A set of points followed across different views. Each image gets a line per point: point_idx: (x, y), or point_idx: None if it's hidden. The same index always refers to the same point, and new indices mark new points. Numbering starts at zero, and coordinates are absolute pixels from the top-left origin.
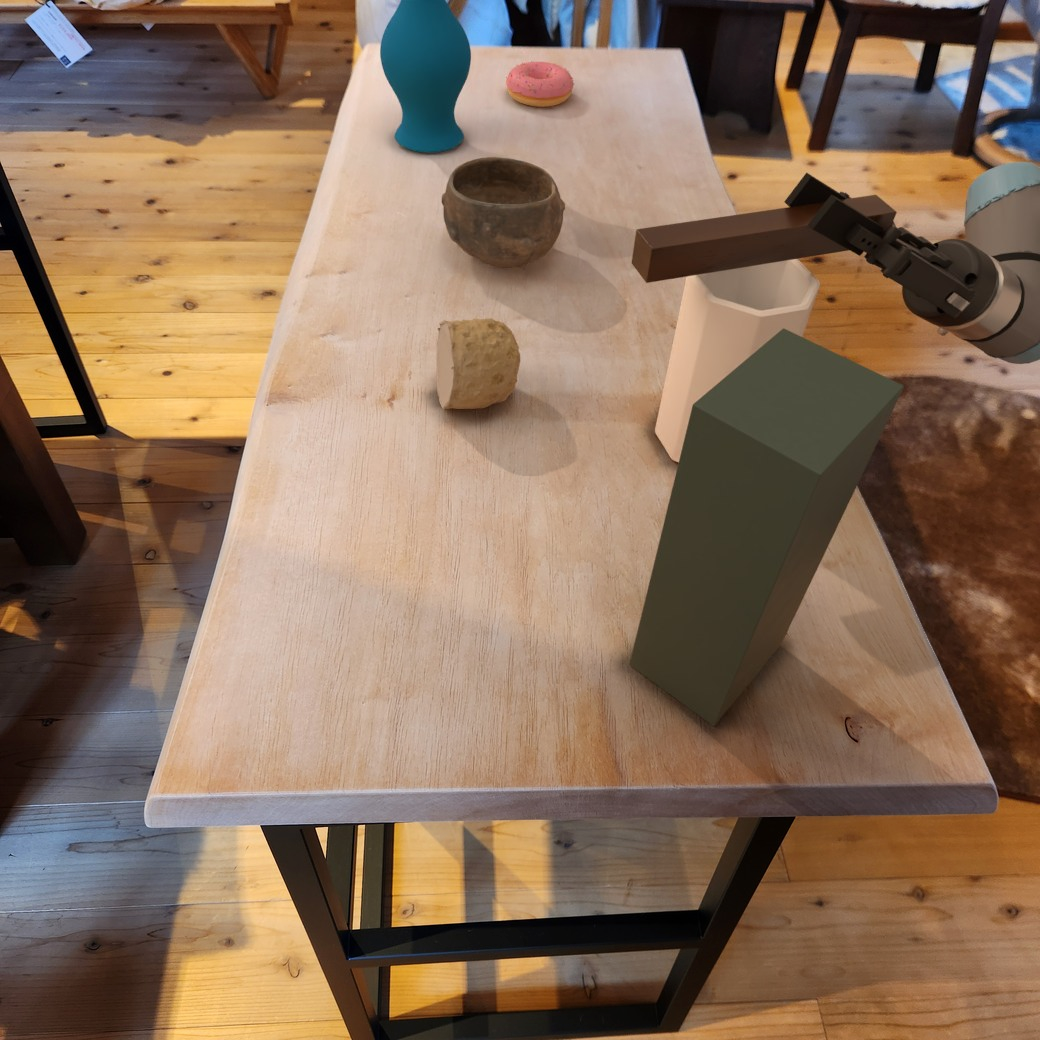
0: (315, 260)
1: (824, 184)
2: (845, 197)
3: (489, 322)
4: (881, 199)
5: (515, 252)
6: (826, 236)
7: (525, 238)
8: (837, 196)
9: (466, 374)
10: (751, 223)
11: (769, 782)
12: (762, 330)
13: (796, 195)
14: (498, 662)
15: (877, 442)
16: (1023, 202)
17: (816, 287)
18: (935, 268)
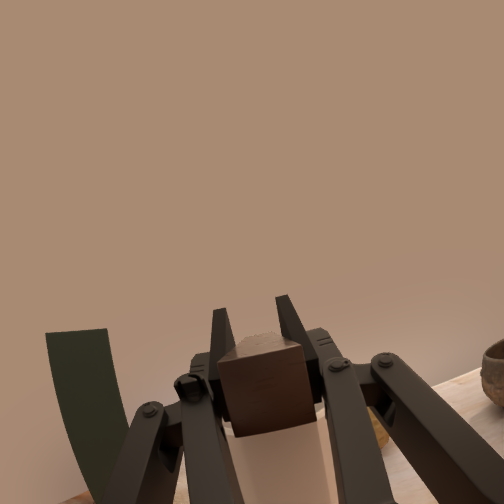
0: (463, 376)
1: (286, 311)
2: (301, 340)
3: (367, 407)
4: (277, 350)
5: (488, 393)
6: None
7: (492, 384)
8: (288, 333)
9: None
10: (257, 338)
11: (75, 496)
12: None
13: (279, 321)
14: (183, 466)
15: (51, 370)
16: None
17: (228, 432)
18: (112, 476)
